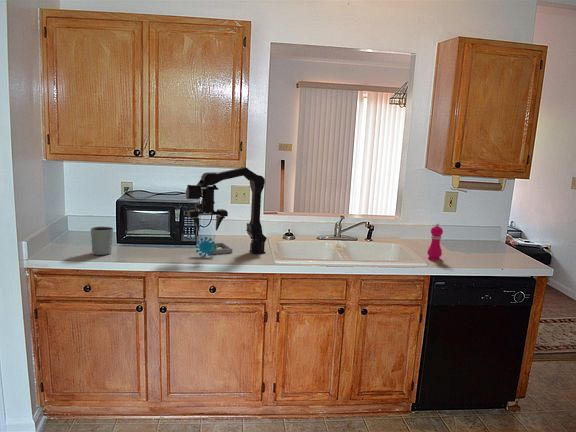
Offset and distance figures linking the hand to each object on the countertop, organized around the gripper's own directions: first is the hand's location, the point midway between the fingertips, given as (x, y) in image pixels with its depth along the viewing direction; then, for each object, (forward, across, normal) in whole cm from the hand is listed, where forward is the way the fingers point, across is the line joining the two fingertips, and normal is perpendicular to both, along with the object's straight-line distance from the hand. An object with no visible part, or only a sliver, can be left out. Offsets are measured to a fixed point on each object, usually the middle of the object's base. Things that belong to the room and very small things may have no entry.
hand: (207, 230), depth 234 cm
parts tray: (+13, -9, -10) cm, 19 cm away
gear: (+14, 0, 0) cm, 14 cm away
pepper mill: (+14, -110, +39) cm, 118 cm away
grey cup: (+13, +46, -20) cm, 52 cm away
